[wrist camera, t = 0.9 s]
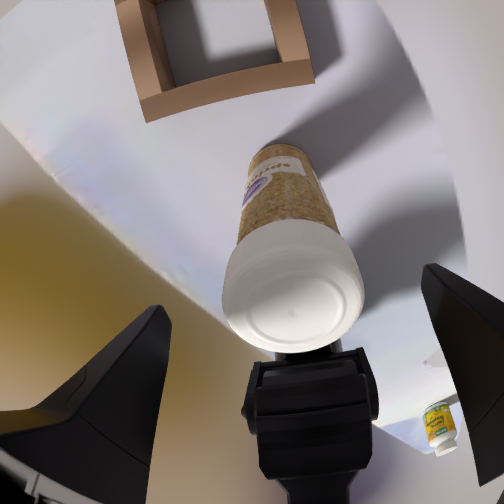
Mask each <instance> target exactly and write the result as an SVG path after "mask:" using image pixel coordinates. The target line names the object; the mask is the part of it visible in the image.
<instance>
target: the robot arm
mask: <svg viewBox="0 0 504 504" xmlns="http://www.w3.org/2000/svg"><path fill="white" fill-rule="evenodd" d="M421 290H422V294H423V297H424V300H425V303H426V306H427V309H428V312H429V315H430V319H431V322H432V325H433V328H434V331H435V333H436V336H437V338H438V341H439V343H440V346H441V348H442V351H443V353H444V356H445V359H446V362H447V364H448V367H449V370H450V373H451V376H452V379H453V382H454V385H455V388H456V391H457V394H458V397H459V400H460V404H461V407H462V410H463V414H464V417H465V421H466V425H467V429H468V432H469V437H470V441H471V446H472V450H473V454H474V460H475V465H476V470H477V476H478V482H479V486H480V487H481V486H483V485H485V484H487V483H488V482H491V481H492V480H494V479H496V478H498V477H500V476H502V475H503V474H504V302H502V301H501V300H499V299H497V298H495V297H494V296H492V295H491V294H489V293H487V292H486V291H484V290H482V289H481V288H479V287H477V286H476V285H474V284H472V283H471V282H469V281H467V280H465V279H464V278H462V277H460V276H458V275H457V274H455V273H453V272H451V271H449V270H448V269H446V268H444V267H442V266H440V265H439V264H437V263H431V264H426V265H425V266H424V268H423V274H422V281H421ZM171 330H172V323H171V320H170V318H169V316H168V314H167V313H166V311H165V309H164V307H163V306H162V305H160V304H159V305H151V306H149V307H148V309H146V310H145V311H144V312H143V313H142V314H140V315H139V316H138V317H137V318H136V319H135V320H134V321H133V322H132V323H130V324H129V325H128V326H127V327H126V328H125V329H124V330H123V331H122V332H120V333H119V334H118V335H117V336H116V337H115V338H114V339H113V340H112V341H110V342H109V343H108V344H107V345H106V346H105V347H104V348H103V349H102V350H101V351H99V352H98V353H97V354H96V355H95V356H94V357H93V358H92V359H91V360H90V361H89V362H88V363H86V365H84V366H83V367H82V368H81V369H80V370H79V371H78V372H77V373H76V374H74V375H73V376H72V377H71V378H70V379H69V380H67V381H66V382H65V383H64V384H63V385H61V386H60V387H59V388H58V389H57V390H55V391H54V392H53V393H52V394H51V395H49V396H48V397H47V398H45V399H44V400H43V401H42V402H41V403H39V404H38V405H36V406H34V407H32V408H30V409H25V410H13V411H0V504H145V503H146V495H147V487H148V479H149V471H150V463H151V457H152V449H153V444H154V438H155V432H156V425H157V420H158V414H159V409H160V403H161V398H162V392H163V387H164V382H165V377H166V372H167V366H168V360H169V350H170V339H171ZM241 414H242V416H243V417H244V418H245V419H246V420H247V423H248V427H249V430H250V433H251V434H252V435H257V444H258V453H259V467H260V469H261V471H262V472H263V474H264V475H265V477H266V478H267V479H268V480H276V482H277V483H278V484H279V485H280V486H281V487H282V489H283V490H284V491H285V492H286V493H287V500H288V504H349V486H350V485H351V483H352V482H353V480H354V478H355V477H356V475H357V474H358V472H359V470H362V469H365V468H366V467H367V465H368V463H369V460H370V458H371V456H372V422H371V421H373V420H377V418H378V414H379V399H378V391H377V385H376V381H375V378H374V375H373V372H372V370H371V367H370V364H369V362H368V359H367V357H366V354H365V352H364V349H363V347H360V348H356V349H355V350H349V351H344V352H343V349H342V344H341V339H340V338H339V339H337V340H336V341H334V342H332V343H330V344H328V345H326V346H323V347H321V348H318V349H315V350H311V351H306V352H298V353H281V352H275V361H271V362H254V366H253V370H251V374H250V379H249V383H248V387H247V392H246V396H245V401H244V405H243V407H242V409H241ZM497 504H504V490H503V492H502V494H501V496H500V498H499V500H498V502H497Z"/></svg>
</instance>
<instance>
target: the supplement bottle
mask: <svg viewBox="0 0 504 504" xmlns="http://www.w3.org/2000/svg"><path fill="white" fill-rule="evenodd" d="M422 417H423V421H424V424H425V428H426V432H427V436H428V440H429V444H430V446H432V447H436V449H435V452H436V456H441V455H444V454H446V453H448V452H450V451H452V450H454V449H455V448H456V447H457V444H456V441H455V440H454V438H455V437H456V435H457V431H456V427H455V424H454V421H453V418H452V415H451V412H450V409H449V406H448V403H447V402H439V403H436V404H434V405H432V406H430V407H428V408H427V409H426V410H425V411H424V412H423V414H422Z"/></svg>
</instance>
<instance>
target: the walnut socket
mask: <svg viewBox="0 0 504 504" xmlns="http://www.w3.org/2000/svg"><path fill="white" fill-rule="evenodd" d="M164 1H166V0H114V2H115V6H116V11H117V15H118V20H119V24H120V29H121V33H122V37H123V41H124V45H125V49H126V53H127V57H128V61H129V65H130V69H131V73H132V76H133V80H134V84H135V87H136V91H137V94H138V98H139V101H140V105H141V108H142V112H143V115H144V118H145V122H146V123H148V122H151V121H154V120H157V119H160V118H163V117H166V116H169V115H172V114H176V113H179V112H182V111H185V110H189V109H192V108H196V107H199V106H203V105H207V104H210V103H214V102H218V101H222V100H226V99H231V98H235V97H239V96H244V95H249V94H253V93H258V92H264V91H269V90H275V89H280V88H286V87H293V86H300V85H307V84H315V79H314V74H313V70H312V65H311V61H310V56H309V52H308V47H307V43H306V39H305V35H304V31H303V27H302V23H301V20H300V16H299V12H298V9H297V5H296V2H295V0H264V3H265V6H266V10H267V13H268V17H269V21H270V24H271V28H272V32H273V36H274V40H275V44H276V48H277V52H278V56H279V60H280V63H275V64H269V65H264V66H259V67H254V68H249V69H244V70H240V71H235V72H231V73H227V74H223V75H219V76H215V77H211V78H207V79H204V80H200V81H197V82H193V83H190V84H187V85H183V86H180V87H177V88H176V86H175V82H174V78H173V75H172V71H171V67H170V64H169V60H168V56H167V52H166V48H165V45H164V41H163V37H162V33H161V29H160V25H159V21H158V17H157V13H156V9H155V5H156V4H158V3H161V2H164Z"/></svg>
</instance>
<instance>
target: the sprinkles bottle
mask: <svg viewBox="0 0 504 504" xmlns="http://www.w3.org/2000/svg"><path fill="white" fill-rule="evenodd" d="M364 300H365V290H364V283H363V280H362V277H361V273H360V270H359V268H358V265H357V262H356V260H355V257H354V255H353V252H352V250H351V248H350V247H349V245H348V243H347V242H346V241H345V240H344V239H343V237H342V236H341V235H340V232H339V230H338V228H337V225H336V221H335V216H334V213H333V211H332V208H331V206H330V204H329V201H328V199H327V197H326V195H325V192H324V190H323V188H322V186H321V184H320V182H319V180H318V178H317V176H316V174H315V172H314V171H313V168H312V165H311V163H310V160H309V158H308V157H307V156H306V155H305V153H304V152H303V151H301V150H300V149H299V148H297V147H294V146H292V145H286V144H274V145H270V146H268V147H266V148H264V149H262V150H261V151H259V152H258V153H257V154H256V155H255V156H254V157H253V159H252V161H251V163H250V166H249V171H248V180H247V184H246V188H245V194H244V199H243V204H242V216H241V221H240V227H239V233H238V241H237V246H236V247H235V249H234V250H233V252H232V254H231V257H230V259H229V262H228V265H227V270H226V274H225V280H224V286H223V292H222V307H223V312H224V315H225V317H226V319H227V321H228V323H229V325H230V326H231V328H232V329H233V330H234V331H235V332H236V333H237V334H238V335H239V336H240V337H241V338H243V339H244V340H245V341H247V342H249V343H250V344H252V345H254V346H257V347H259V348H262V349H265V350H269V351H273V352H281V353H298V352H306V351H311V350H315V349H318V348H321V347H323V346H326V345H328V344H330V343H332V342H334V341H336V340H337V339H339V338H340V337H342V336H343V335H344V334H345V333H346V332H348V331H349V330H350V328H351V327H352V326H353V325H354V324H355V322H356V321H357V319H358V317H359V316H360V314H361V311H362V308H363V305H364Z"/></svg>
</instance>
